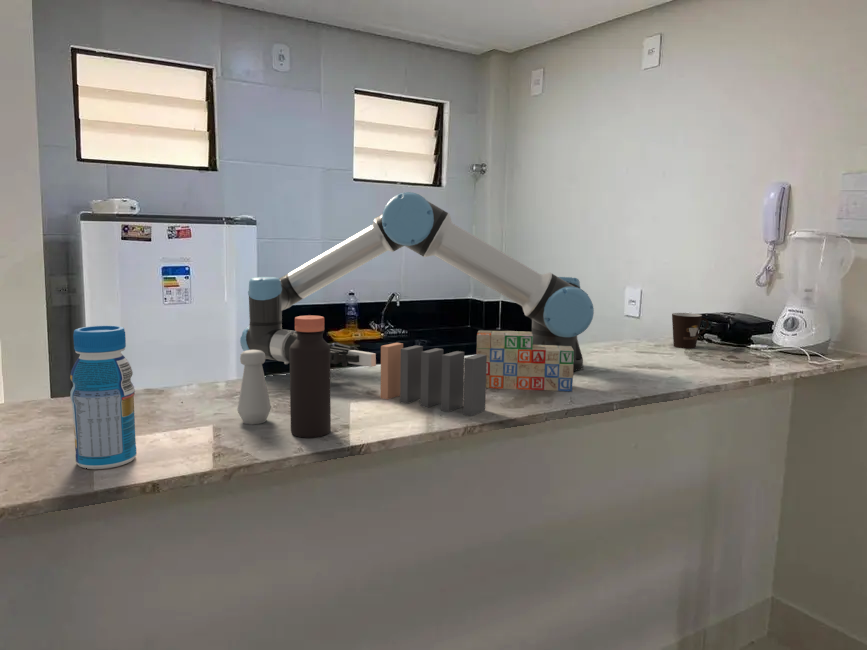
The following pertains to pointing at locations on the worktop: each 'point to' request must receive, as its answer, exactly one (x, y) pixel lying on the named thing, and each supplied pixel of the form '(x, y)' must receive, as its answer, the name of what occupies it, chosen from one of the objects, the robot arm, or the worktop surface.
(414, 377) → the domino
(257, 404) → the salt shaker
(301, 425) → the vinegar
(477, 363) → the domino
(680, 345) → the coffee mug
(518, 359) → the stack of blocks
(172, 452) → the worktop surface
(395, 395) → the orange domino
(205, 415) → the worktop surface
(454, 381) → the domino
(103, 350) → the beverage bottle
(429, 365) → the domino
